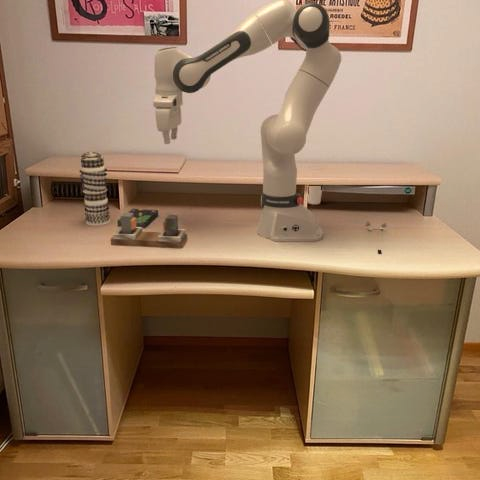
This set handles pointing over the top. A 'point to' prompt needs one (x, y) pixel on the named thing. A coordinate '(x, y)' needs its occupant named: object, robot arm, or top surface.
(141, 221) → the disk drive
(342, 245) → the top surface
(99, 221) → the decorative candle
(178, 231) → the wooden holder stand
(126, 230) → the grey orange block
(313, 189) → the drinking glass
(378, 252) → the diorama
